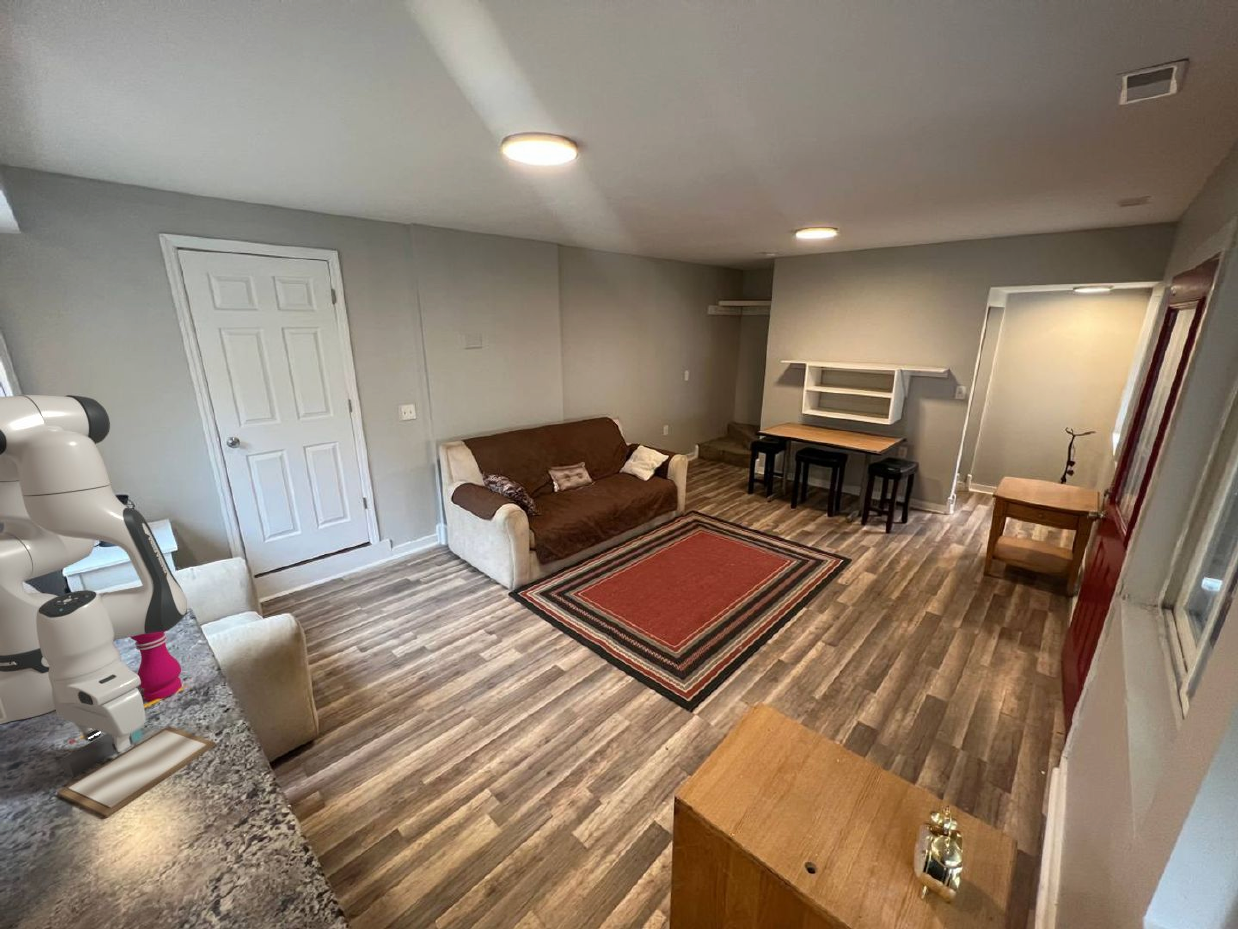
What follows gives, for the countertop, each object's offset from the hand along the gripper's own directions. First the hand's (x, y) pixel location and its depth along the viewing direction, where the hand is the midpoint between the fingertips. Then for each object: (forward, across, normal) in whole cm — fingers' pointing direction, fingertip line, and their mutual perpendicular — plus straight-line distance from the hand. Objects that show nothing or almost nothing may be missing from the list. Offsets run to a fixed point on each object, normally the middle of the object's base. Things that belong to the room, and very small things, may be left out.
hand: (107, 743), depth 91 cm
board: (+2, +11, -1) cm, 11 cm away
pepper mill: (+2, -11, +15) cm, 19 cm away
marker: (+2, 0, 0) cm, 2 cm away
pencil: (+2, -10, +9) cm, 13 cm away
